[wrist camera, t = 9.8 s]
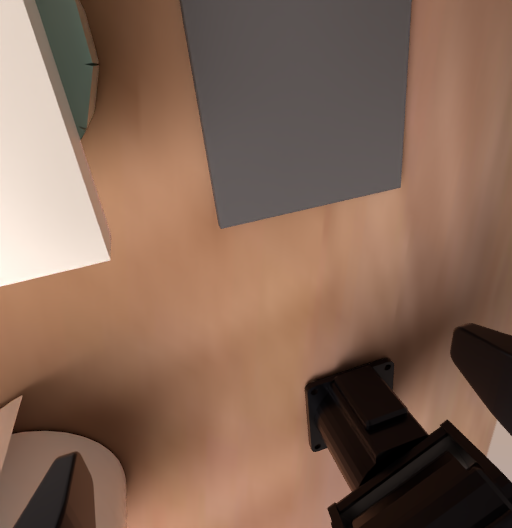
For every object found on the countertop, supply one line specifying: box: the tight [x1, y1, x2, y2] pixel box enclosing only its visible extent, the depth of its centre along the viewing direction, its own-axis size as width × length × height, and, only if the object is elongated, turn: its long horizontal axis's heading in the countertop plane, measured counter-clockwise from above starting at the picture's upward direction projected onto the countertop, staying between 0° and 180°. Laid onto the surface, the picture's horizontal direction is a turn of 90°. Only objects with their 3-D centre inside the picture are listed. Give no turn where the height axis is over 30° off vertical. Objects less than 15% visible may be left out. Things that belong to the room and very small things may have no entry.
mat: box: [180, 0, 412, 229], centre depth 17 cm, size 15×10×1 cm, turn 7°
